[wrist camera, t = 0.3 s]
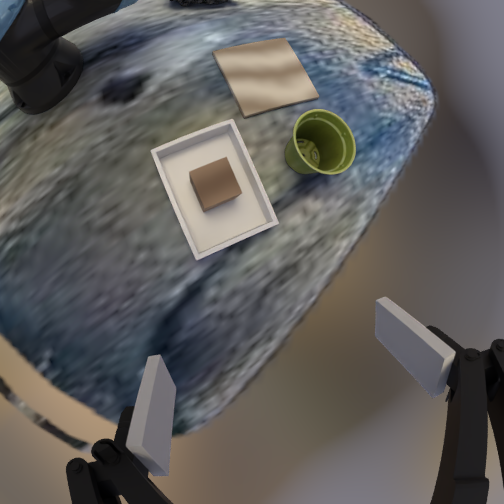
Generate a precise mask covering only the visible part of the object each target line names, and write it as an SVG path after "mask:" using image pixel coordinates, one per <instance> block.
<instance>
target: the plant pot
mask: <svg viewBox="0 0 504 504" xmlns="http://www.w3.org/2000/svg"><path fill="white" fill-rule="evenodd" d="M297 141H303V142H304V143H297ZM314 151H315V152H316V154H317V159H315V154H314ZM355 152H356V146H355V140H354V137H353V134H352V132H351V130H350V128H349V127H348V125H347V124H346V123H345V122H344V121H343V120H342V119H341V118H340V117H339V116H337V115H336V114H334V113H332V112H330V111H327V110H323V109H314V110H310V111H307V112H305V113H304V114H302V115H301V116H300V117H299V119H298V120H297V121H296V123H295V125H294V129H293V136H292V138H291V140H290V141H289V143H288V144H287V146H286V149H285V159H286V161H287V163H288V165H289V166H290V167H291V168H292V169H293V170H295V171H296V172H298V173H301V174H310V173H317V172H319V173H322V174H328V175H333V174H338V173H341V172H343V171H345V170H346V169H347V168H349V166H350V165H351V164H352V162H353V160H354V157H355ZM302 154H305V156H304V157H303V155H302Z"/></svg>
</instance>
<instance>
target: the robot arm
mask: <svg viewBox="0 0 504 504" xmlns="http://www.w3.org/2000/svg"><path fill="white" fill-rule="evenodd" d="M137 1H138V0H0V80H1V81H2V82H3V83H5V84H6V85H7V86H8V89H9V92H10V94H11V97H12V99H13V101H14V103H15V105H16V106H17V107H18V108H19V109H20V110H22V111H23V112H25V113H27V114H37V113H41V112H44V111H46V110H48V109H50V108H51V107H53V106H54V105H56V104H57V103H58V102H60V101H61V100H62V99H63V98H64V97H65V96H66V95H67V94H68V93H69V92H70V91H71V89H72V88H73V87H74V85H75V84H76V82H77V80H78V78H79V76H80V74H81V71H82V68H83V57H82V54H81V53H80V51H79V49H78V48H77V46H76V45H75V44H73V43H71V42H70V41H68V40H66V39H64V38H62V37H61V36H63V35H65V34H67V33H69V32H71V31H73V30H75V29H77V28H79V27H81V26H83V25H85V24H88V23H90V22H92V21H94V20H96V19H99V18H101V17H104V16H106V15H109V14H111V13H115V12H117V11H119V10H120V9H122V8H125V7H127V6H130V5H132V4H134V3H136V2H137ZM375 336H376V338H377V339H378V340H379V341H380V342H381V343H382V344H383V345H384V346H385V347H386V348H387V349H388V350H389V351H390V352H391V354H392V355H393V356H394V357H395V358H396V359H397V360H398V361H399V362H400V363H401V364H402V365H403V366H404V367H405V368H406V370H407V371H408V372H409V373H410V374H411V375H412V376H413V377H414V378H415V379H416V380H417V382H418V383H419V384H420V385H421V386H422V387H423V388H424V389H425V390H426V391H427V392H428V394H429V395H430V396H431V397H432V398H435V397H436V396H438V395H439V394H441V393H442V392H444V389H445V386H446V384H447V385H448V386H449V387H450V389H449V392H448V395H447V398H446V402H447V400H448V411H447V422H446V430H445V438H444V445H443V451H442V457H441V462H440V467H439V472H438V477H437V481H436V485H435V489H434V493H433V497H432V500H431V503H430V504H486V502H487V496H488V490H489V479H487V478H485V467H486V455H487V436H488V434H487V433H488V414H489V418H490V421H491V425H492V429H493V432H494V437H495V441H496V445H497V450H498V455H499V460H500V466H501V472H502V478H503V487H504V340H503V339H496V340H494V341H493V342H492V344H491V347H490V349H488V350H485V351H482V352H480V351H478V350H476V349H472V348H469V349H464V348H462V347H461V346H460V345H459V344H457V343H456V342H455V341H453V340H452V339H451V338H450V337H448V336H447V335H446V334H444V333H443V332H442V331H441V330H439V329H438V328H436V327H433V326H427V327H424V326H423V325H422V324H421V323H419V322H418V321H417V320H415V319H414V318H413V317H412V316H411V315H409V314H408V313H407V312H405V311H404V310H403V309H401V308H400V307H399V306H397V305H396V304H395V303H394V302H392V301H391V300H390V299H388V298H387V297H383V298H381V299H378V300H376V326H375ZM175 395H176V387H175V385H174V383H173V381H172V378H171V376H170V374H169V372H168V370H167V368H166V366H165V364H164V361H163V359H162V357H161V355H155V356H148V360H147V363H146V367H145V370H144V374H143V377H142V381H141V385H140V389H139V392H138V396H137V400H136V404H135V406H129V407H126V408H125V409H124V411H123V412H122V413H121V416H120V420H119V423H118V429H117V431H116V434H115V439H114V441H113V440H111V439H101V440H99V441H97V442H96V443H95V444H94V445H93V447H92V450H91V453H92V456H93V457H94V458H95V459H96V460H97V461H95V462H90V463H87V462H86V461H85V460H84V459H82V458H74V459H72V460H70V461H69V462H68V464H67V466H66V474H67V480H68V486H69V490H70V496H71V500H72V504H122V503H121V501H120V498H119V495H122V496H123V497H124V498H125V500H126V501H127V502H128V504H173V503H172V502H171V501H170V500H169V499H168V498H167V497H166V496H165V495H164V494H163V493H162V492H161V491H160V490H159V489H158V488H157V487H156V486H155V484H154V483H153V482H152V481H151V480H150V479H149V478H148V472H150V473H151V474H152V475H153V476H168V475H169V462H170V447H171V435H172V424H173V414H174V404H175ZM487 411H488V414H487Z"/></svg>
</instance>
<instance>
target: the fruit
mask: <svg viewBox="0 0 504 504" xmlns="http://www.w3.org/2000/svg"><path fill="white" fill-rule="evenodd" d="M170 1H174V0H170ZM176 1H178V2H180V4H181V6H187V5H188V4H189V2H192V3H202V2H203V1H204V0H176ZM227 1H228V0H205V2H206V3H207V4H213V3H215V4H218V3H220V2H221V3H223V2H227Z"/></svg>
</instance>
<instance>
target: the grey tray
mask: <svg viewBox="0 0 504 504" xmlns="http://www.w3.org/2000/svg"><path fill="white" fill-rule="evenodd" d="M150 151H151V153H152V156H153V158H154V161H155V163H156V166H157V169H158V171H159V174H160V176H161V179H162V181H163V184H164V186H165V189H166V191H167V193H168V196H169V198H170V201H171V203H172V206H173V208H174V210H175V213H176V215H177V217H178V220H179V222H180V224H181V227H182V229H183V231H184V234H185V236H186V238H187V240H188V243H189V245H190V247H191V249H192V252H193V254H194V256H195V258H196V260H199V259H201V258H203V257H205V256H208V255H210V254H212V253H214V252H216V251H219V250H221V249H223V248H225V247H228V246H230V245H232V244H234V243H236V242H239V241H241V240H243V239H245V238H248V237H250V236H252V235H254V234H256V233H259V232H261V231H263V230H265V229H268V228H270V227H272V226H274V225H277V224H279V222H278V220H277V218H276V215H275V213H274V211H273V208H272V206H271V203H270V201H269V199H268V196H267V194H266V192H265V189H264V187H263V185H262V183H261V180H260V178H259V176H258V173H257V171H256V169H255V167H254V164H253V162H252V160H251V158H250V155H249V153H248V151H247V149H246V146H245V144H244V142H243V140H242V138H241V135H240V133H239V131H238V129H237V127H236V125H235V122H234V120H233V119H230V120H227V121H224V122H221V123H218V124H215V125H212V126H210V127H207V128H204V129H201V130H199V131H196V132H193V133H191V134H188V135H186V136H183V137H181V138H178V139H176V140H173V141H171V142H169V143H166V144H164V145H161V146H159V147H157V148H155V149H152V150H150ZM224 157H227V159H228V161H229V163H230V166H231V168H232V170H233V172H234V175H235V177H236V179H237V182H238V184H239V186H240V188H241V191H242V194H240V195H239V196H238V197H237V198H236V199H234V200H231V201H229V202H227V203H224V204H222V205H219V206H217V207H215V208H213V209H210V210H208V211H206V212H203V211H202V208H201V206H200V204H199V201H198V199H197V197H196V194H195V192H194V190H193V187H192V185H191V182H190V178H189V171H192V170H194V169H197V168H199V167H202V166H204V165H207V164H209V163H212V162H214V161H217V160H219V159H222V158H224Z"/></svg>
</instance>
